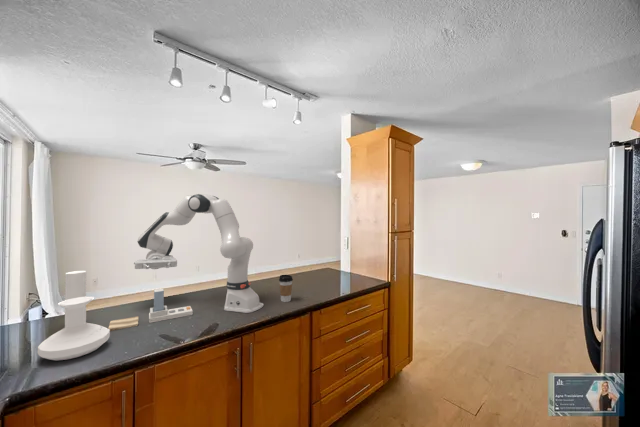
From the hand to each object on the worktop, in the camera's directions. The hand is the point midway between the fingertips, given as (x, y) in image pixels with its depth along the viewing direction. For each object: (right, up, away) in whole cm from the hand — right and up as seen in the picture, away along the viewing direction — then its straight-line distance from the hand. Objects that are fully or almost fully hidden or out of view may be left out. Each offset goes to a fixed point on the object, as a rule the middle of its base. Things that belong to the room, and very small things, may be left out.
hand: (157, 267), depth 141 cm
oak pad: (-5, -24, -17) cm, 30 cm away
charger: (+7, -22, -10) cm, 25 cm away
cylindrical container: (-27, -24, -19) cm, 41 cm away
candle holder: (-5, -24, -42) cm, 49 cm away
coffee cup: (+67, -25, +18) cm, 74 cm away
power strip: (+11, -24, -7) cm, 27 cm away
